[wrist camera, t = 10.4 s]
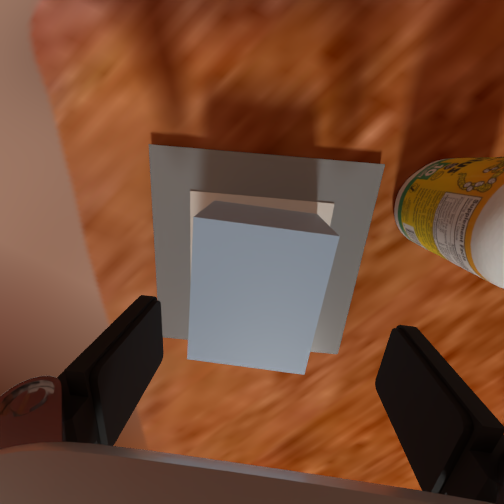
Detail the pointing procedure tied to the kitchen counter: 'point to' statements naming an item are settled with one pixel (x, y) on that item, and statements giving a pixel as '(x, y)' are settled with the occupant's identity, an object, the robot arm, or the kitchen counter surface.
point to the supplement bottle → (457, 213)
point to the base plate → (265, 195)
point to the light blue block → (257, 285)
